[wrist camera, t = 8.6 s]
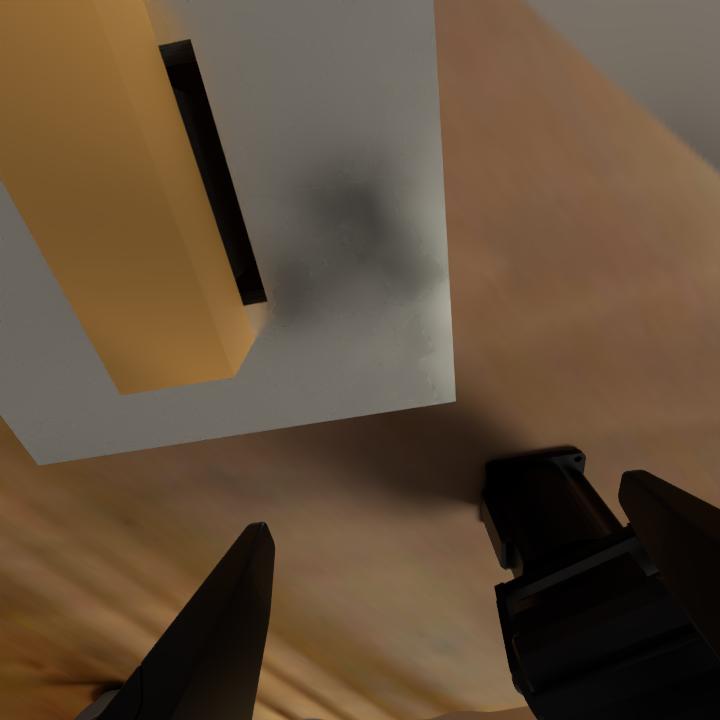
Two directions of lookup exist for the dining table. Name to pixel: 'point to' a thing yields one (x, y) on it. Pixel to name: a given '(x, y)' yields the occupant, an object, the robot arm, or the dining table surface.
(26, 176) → the wedge pin
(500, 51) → the dining table surface
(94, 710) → the pocket watch
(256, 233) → the rosette plate
